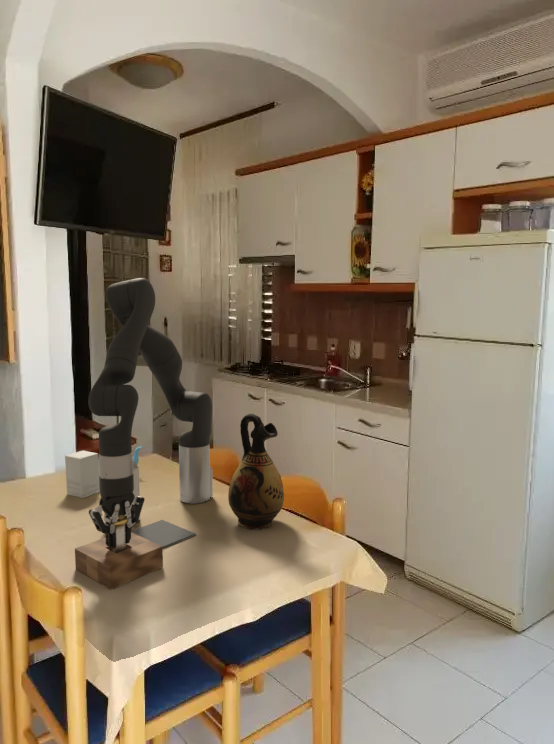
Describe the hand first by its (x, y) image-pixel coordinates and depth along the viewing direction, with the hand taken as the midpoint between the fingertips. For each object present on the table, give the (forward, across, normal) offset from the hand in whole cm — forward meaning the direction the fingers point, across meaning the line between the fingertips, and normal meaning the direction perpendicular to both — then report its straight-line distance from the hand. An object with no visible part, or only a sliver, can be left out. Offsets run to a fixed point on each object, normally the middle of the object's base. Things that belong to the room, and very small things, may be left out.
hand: (118, 544), depth 137 cm
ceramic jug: (+6, -41, +4) cm, 42 cm away
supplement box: (+6, -22, -52) cm, 57 cm away
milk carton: (+6, -16, -22) cm, 28 cm away
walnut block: (+6, 0, 0) cm, 6 cm away
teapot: (+6, -37, -57) cm, 68 cm away
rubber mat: (+6, -17, -8) cm, 20 cm away
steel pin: (+6, 0, 0) cm, 6 cm away
